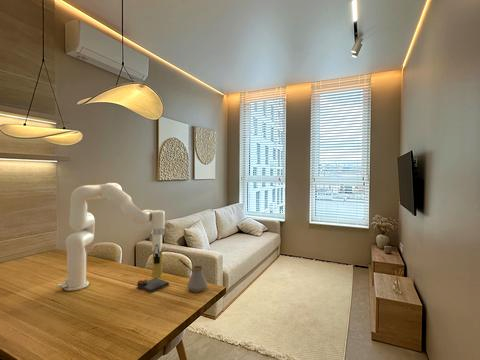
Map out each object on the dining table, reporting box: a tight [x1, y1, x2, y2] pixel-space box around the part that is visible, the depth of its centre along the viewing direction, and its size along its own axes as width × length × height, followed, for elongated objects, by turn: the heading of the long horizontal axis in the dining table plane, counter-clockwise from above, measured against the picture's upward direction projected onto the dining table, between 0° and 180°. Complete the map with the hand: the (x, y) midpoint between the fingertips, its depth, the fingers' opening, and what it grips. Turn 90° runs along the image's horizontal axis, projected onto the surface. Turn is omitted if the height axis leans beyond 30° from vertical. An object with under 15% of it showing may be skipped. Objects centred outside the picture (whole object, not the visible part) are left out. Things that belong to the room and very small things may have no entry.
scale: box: [137, 278, 170, 294], centre depth 155 cm, size 14×13×4 cm
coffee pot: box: [177, 258, 208, 293], centre depth 155 cm, size 21×12×15 cm, turn 57°
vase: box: [151, 250, 163, 279], centre depth 156 cm, size 6×6×14 cm
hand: (157, 261), depth 155 cm, fingers closed on vase, 5 cm apart
